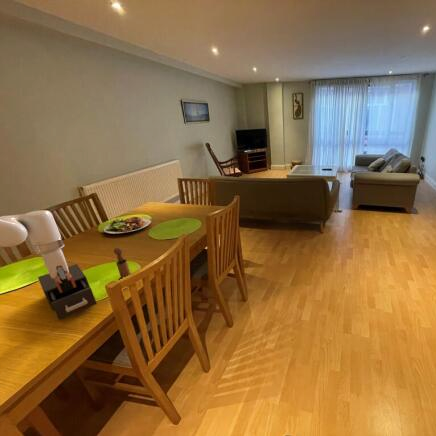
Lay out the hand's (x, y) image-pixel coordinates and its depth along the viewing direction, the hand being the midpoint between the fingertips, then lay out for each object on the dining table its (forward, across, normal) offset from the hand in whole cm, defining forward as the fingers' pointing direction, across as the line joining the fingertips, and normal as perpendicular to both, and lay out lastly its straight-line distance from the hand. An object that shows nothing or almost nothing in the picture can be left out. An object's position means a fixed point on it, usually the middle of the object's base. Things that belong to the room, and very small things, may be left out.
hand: (66, 286), depth 91 cm
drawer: (+9, +1, 0) cm, 9 cm away
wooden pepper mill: (+10, -2, +19) cm, 22 cm away
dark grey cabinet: (+10, -11, 0) cm, 15 cm away
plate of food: (+10, -69, +42) cm, 82 cm away
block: (0, 0, 0) cm, 0 cm away
